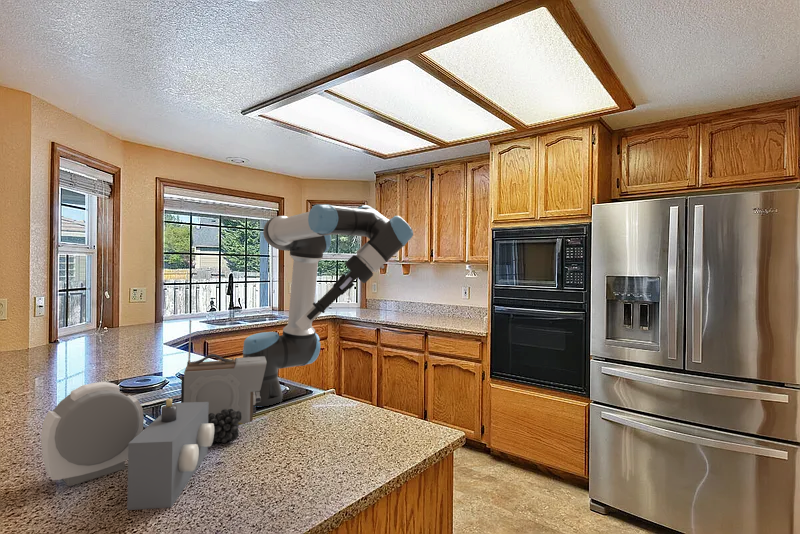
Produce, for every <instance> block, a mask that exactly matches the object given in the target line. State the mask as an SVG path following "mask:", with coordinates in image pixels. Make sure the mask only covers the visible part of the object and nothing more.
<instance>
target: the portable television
mask: <svg viewBox="0 0 800 534" xmlns="http://www.w3.org/2000/svg"><path fill="white" fill-rule="evenodd" d="M191 334H192V320H191V319H190V320H189V340H188V357H187V358H188V360H187V363H186V364H187V365H186V367H185V369H184V372H183V375H180V376H179V378H180V379H179V380H181V384H180V385H181V387H180V388H181V389H180V391H181V392H180V403H186V402H209V405H208V415H209V414H210V413H214V414H215V416H216V414H217V413H221V411H222V410H223V409H227V410H228V409H233V410H234V411H240V412H241V416H242V418H241V420H240V421H239V422H238V423H242V424H241V425H243V424H248V423H251V422H253V414H254V415H255V414H257V408H256V407H255V404H256V402H260V399H261V397H260V392H257V391H260V390H261V385H262V381H263V377H264V373H265V368H266V364H267V361H266V358H265V356H261V357H244V358H243V357H235V358H234V357H232V359H231V358H230V359H228V358H225V357H224V358H223V357H222V356H220V355H218V354H215V353H211V354H208V355H206V356H204V357H203V358H201V359H199V360H195V361H191V342H192V341H191V336H192V335H191ZM210 358H215V359H218V360H213V361H210V360H209V361H205V360H207V359H210ZM255 392H256V394H255Z"/></svg>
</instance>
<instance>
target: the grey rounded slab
mask: <svg viewBox="0 0 800 534" xmlns="http://www.w3.org/2000/svg"><path fill="white" fill-rule="evenodd" d="M142 406H143V405H142V404H141V403H140V400H139V399H137V398H135V397H134V396H132V395H130V394H128V395H125V394H124V393H122V392H120V386H119V385H117V384H116V383H113V382H109V381H99V382H91V383H87V384H82V385H81V386H79V387H77V388H74V389H73V390H71V392H70V393H69V394H68V395H67V396H65V397H64V398H63V399H62V400H61V401H59V403H58V404H57V405H56V406H55V407H54V408H53V410H52V411H51V410H48V412H47V414H46V415H45V417H44V420H43V422H42V426H41V433H40V439H41V441H40V445H41V446H40V447H41V454H42V461H43V465H44V469H45V472H46V474H47V475H48V476H49V478H50V479H51V481H58V480H63V481H64V483H65V484H66V485H67V486H68V487H71V486H74V485H77V484H82V483H85V482H87V481H91V480H94V479H96V478H100V477H103V476H106V475H109V474H113V473H117V472H119V471H122V470H125V469H126V461H128V443H129V442H130V441H132V440H133V439H134V438H135V437H136V436H137V435H138V434H140V433H141V432H142V431H143V430H144V419H145V417H144V409H143V407H142Z"/></svg>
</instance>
